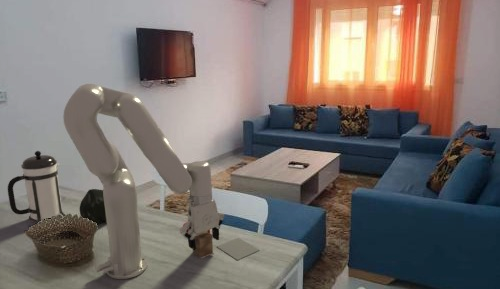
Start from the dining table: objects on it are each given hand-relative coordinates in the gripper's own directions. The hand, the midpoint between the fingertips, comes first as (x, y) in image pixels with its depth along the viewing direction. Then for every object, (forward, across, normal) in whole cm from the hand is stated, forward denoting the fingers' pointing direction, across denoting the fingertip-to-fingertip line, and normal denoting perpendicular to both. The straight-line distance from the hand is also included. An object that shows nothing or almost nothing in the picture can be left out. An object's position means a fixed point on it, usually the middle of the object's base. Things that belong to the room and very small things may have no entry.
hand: (204, 243), depth 128 cm
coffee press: (+2, -37, +68) cm, 78 cm away
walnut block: (+3, -1, 0) cm, 4 cm away
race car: (+4, +6, +15) cm, 17 cm away
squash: (+3, -19, +52) cm, 56 cm away
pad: (+4, +10, -6) cm, 12 cm away
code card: (+4, -1, 0) cm, 4 cm away
